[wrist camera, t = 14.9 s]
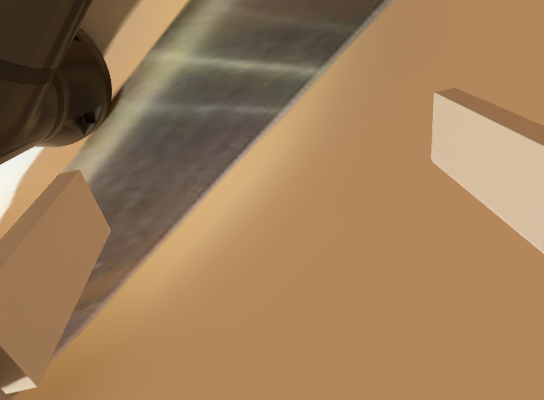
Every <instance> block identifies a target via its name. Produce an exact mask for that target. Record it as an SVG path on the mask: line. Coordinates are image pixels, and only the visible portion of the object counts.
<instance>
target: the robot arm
mask: <svg viewBox="0 0 544 400" xmlns="http://www.w3.org/2000/svg"><path fill="white" fill-rule="evenodd" d="M91 2H92V0H0V164H2V163H4V162H6V161H8V160H10V159H12V158H14V157H15V156H17V155H19V154H21V153H23V152H25V151H27V150H29V149H30V148H32V147H34V146H37V147H60V146H65V145H69V144H73V143H75V142H77V141H80V140H81V139H83V138H85V137H86V136H88V135H90V134H91V133H92V132H94V131H95V130H96V129H97V128H98V127H99V126H100V125H101V124H102V122H103V121H104V119H105V117H106V115H107V113H108V111H109V108H110V104H111V97H112V87H111V79H110V75H109V71H108V68H107V65H106V63H105V60H104V58H103V56H102V55H101V53H100V51H99V50H98V48H97V47H96V45H95V44H94V43H93V41H92V40H91V39H90V38H89V37H88V36H87V35H86V34H85V33H84V32H83V31H82V30H81V29H80V28H79V26H80V24H81V22H82V20H83V18H84V16H85V14H86V12H87V10H88V8H89V6H90V4H91ZM431 161H432V162H434V163H435V164H436V165H437V166H438V167H440V168H441V169H442V170H443V171H444V172H446V173H447V174H448V175H449V176H450V177H452V178H453V179H454V180H455V181H457V182H458V183H459V184H460V185H461V186H462V187H464V188H465V189H466V190H467V191H469V192H470V193H471V194H472V195H473V196H475V197H476V198H477V199H478V200H479V201H481V202H482V203H483V204H484V205H486V206H487V207H488V208H489V209H490V210H491V211H493V212H494V213H495V214H496V215H497V216H499V217H500V218H501V219H502V220H503V221H505V222H506V223H507V224H508V225H510V226H511V227H512V228H513V229H514V230H516V231H517V232H518V233H519V234H520V235H522V236H523V237H524V238H525V239H526V240H528V241H529V242H530V243H532V245H534V246H535V247H536V248H537V249H539V250H540V251H541V252H542V253H543V254H544V126H543V125H541V124H538V123H536V122H534V121H531V120H529V119H527V118H524V117H522V116H520V115H517V114H515V113H513V112H510V111H508V110H505V109H503V108H501V107H499V106H496V105H494V104H491V103H489V102H487V101H484V100H482V99H480V98H477V97H475V96H473V95H470V94H468V93H466V92H463V91H461V90H459V89H456V88H452V89H447V90H443V91H439V92H435V93H434V108H433V130H432V151H431ZM110 232H111V230H110V228H109V226H108V224H107V222H106V220H105V218H104V216H103V214H102V212H101V210H100V208H99V206H98V204H97V202H96V201H95V199H94V197H93V195H92V193H91V191H90V189H89V187H88V185H87V183H86V181H85V179H84V177H83V175H82V173H81V171H80V170H76V171H72V172H67V173H63V174H59V175H58V176H57V177H56V178H55V179H54V180H53V182H52V183H51V184H50V185H49V186H48V187H47V188H46V189H45V191H44V192H43V193H42V194H41V195H40V196H39V197H38V198H37V199H36V200H35V202H34V203H33V204H32V205H31V206H30V207H29V209H27V211H26V212H25V213H24V214H23V215H22V216H21V217H20V218H19V219H18V221H17V222H16V223H15V224H14V225H13V226H12V227H11V229H10V230H9V231H8V232H7V233H6V234H5V235H4V236H3V237H2V238H1V240H0V388H1V389H2V390H3V391H4V392H5V393H6V394H8V393H13V392H17V391H22V390H26V389H31V388H35V387H38V384H39V382H40V380H41V378H42V376H43V374H44V372H45V370H46V368H47V365H48V363H49V361H50V359H51V357H52V355H53V353H54V351H55V348H56V346H57V344H58V342H59V340H60V338H61V336H62V334H63V331H64V329H65V327H66V325H67V323H68V321H69V319H70V317H71V314H72V312H73V310H74V308H75V306H76V304H77V302H78V300H79V297H80V295H81V293H82V291H83V289H84V287H85V285H86V283H87V280H88V278H89V276H90V274H91V272H92V270H93V268H94V266H95V263H96V261H97V259H98V257H99V255H100V253H101V251H102V249H103V246H104V244H105V242H106V240H107V238H108V236H109V234H110Z"/></svg>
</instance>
